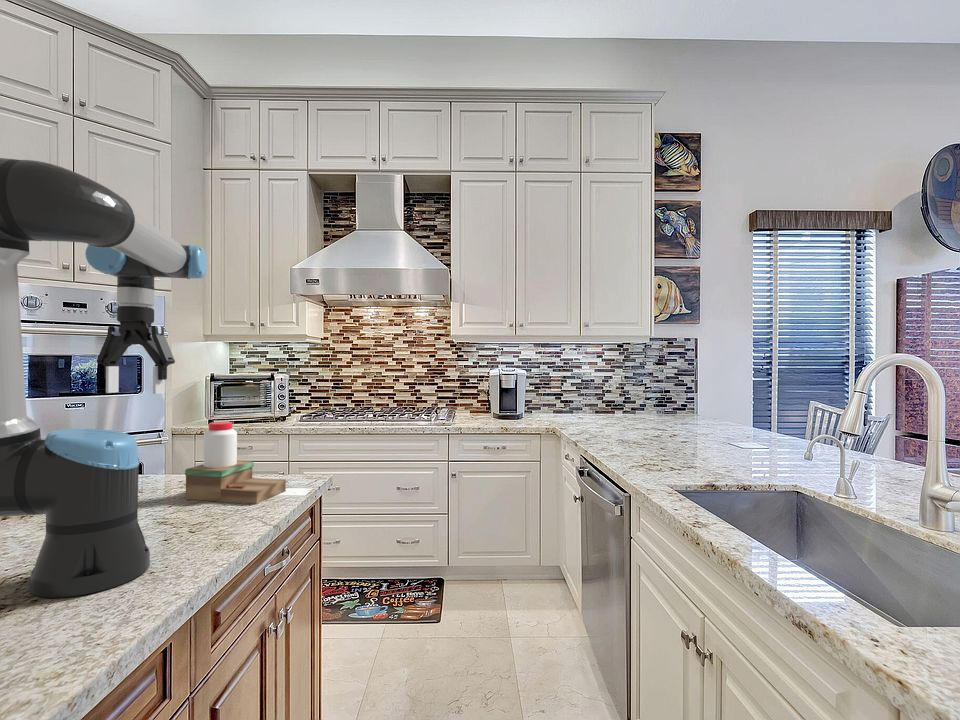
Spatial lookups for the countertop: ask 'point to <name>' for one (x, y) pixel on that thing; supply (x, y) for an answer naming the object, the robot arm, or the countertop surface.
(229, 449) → the pill bottle
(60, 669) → the countertop surface
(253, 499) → the stand
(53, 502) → the robot arm
